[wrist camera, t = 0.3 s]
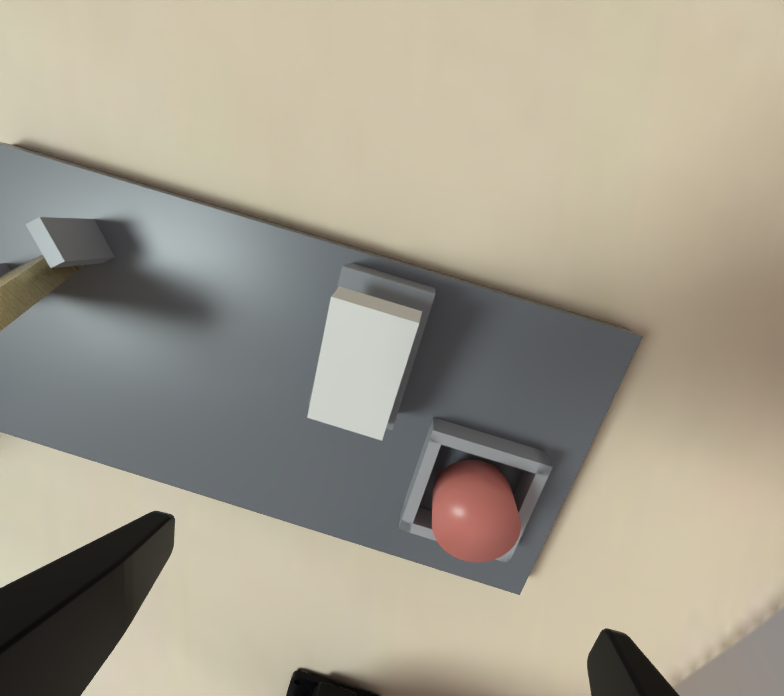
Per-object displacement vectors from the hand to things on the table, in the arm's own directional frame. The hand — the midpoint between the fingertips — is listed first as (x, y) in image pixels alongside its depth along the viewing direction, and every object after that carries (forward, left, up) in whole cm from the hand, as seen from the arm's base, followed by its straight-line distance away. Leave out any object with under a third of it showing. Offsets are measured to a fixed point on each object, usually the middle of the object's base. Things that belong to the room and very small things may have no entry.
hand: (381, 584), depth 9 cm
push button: (-5, -5, -12) cm, 14 cm away
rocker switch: (+1, +2, -11) cm, 12 cm away
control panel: (-3, +7, -15) cm, 17 cm away
